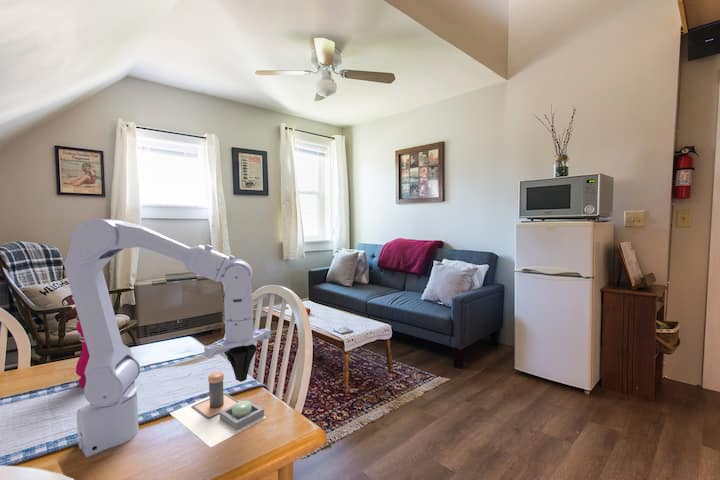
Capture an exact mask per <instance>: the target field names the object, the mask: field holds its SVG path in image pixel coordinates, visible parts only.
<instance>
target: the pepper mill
mask: <svg viewBox="0 0 720 480" xmlns="http://www.w3.org/2000/svg"><path fill="white" fill-rule="evenodd" d="M76 332H77V333H78V334H79V341H80V342H81V353H80V356H79V358H78V360H77V363H76V366H75V373H76V375H77V376H78V377H80V378H79V379H78V387H80V388H81V389H84V388H85V384H86V376H85V369H86V366H87V363H88V360H89V357H90V355H89V352H88V348H87V345H86V341H85V338H84V334H83V331H82V327H81V324H80V320H79V319H78V322H77V323H76Z"/></svg>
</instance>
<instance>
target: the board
mask: <svg viewBox="0 0 720 480" xmlns="http://www.w3.org/2000/svg"><path fill="white" fill-rule="evenodd" d="M223 393H224V405H223V406H222V407H220V408H216V409H213V408H210V399H209V396H207V397H204V398H203V399H200V400H197V401H196V402H193V403H191V404H188V405H186V406H183V407H181V408H178V409H176V410H173V411H171V412H169V413H168V414H169V415H171V416H172V417H173V418H174V419H175V420H177V421H178V422H179V423H180V424H181V425H183V427H185V429H187V430H188V431H190V432H191V433H192V434H193V435H195V437H197V438H198V439H199V440H200V441H201V442H203V443H204V444H205V445H207V446H208V447H209V448H213V447H215V446H216V445H219V444H220V443H223V442H224V441H226V440H228V439H229V438H232V437H234V436H235V435H238V434H239V433H241V432H243V431H244V430H246V429H248V428H250V427H252V426H253V425H256V424H257V423H259V422H261V421H262V420H265V419H267V417H266V416H265V409H264V408H263V407H261V406H259V405H258V404H256V403H254V402H252V401H251V400H249V399H244V400H243V401H248V402H251V404H252V413H251V414H249V415H247V416H245V417H243V418H240V419H237V418H234V417H233V416H232V406H233V405H234V404H236V403H238V402H241V401H240V400H238V399H237V398H234V397H233V396H231V395H229V394H228V393H226V392H225V391H223Z"/></svg>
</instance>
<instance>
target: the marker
mask: <svg viewBox="0 0 720 480" xmlns="http://www.w3.org/2000/svg"><path fill="white" fill-rule="evenodd" d="M224 378H225V377H224V373H223V372H219V371H218V372H213V373H211V374H209V375H208V378H207V379H208V392H209V393H208V395H209V396H208V397H209V399H210V408H213V409H216V408H220V407H222V406H223V405H224V393H225V392H224ZM223 392H224V393H223Z"/></svg>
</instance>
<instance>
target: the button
mask: <svg viewBox="0 0 720 480" xmlns="http://www.w3.org/2000/svg"><path fill="white" fill-rule="evenodd" d="M251 402H252V401H251ZM251 402H248V401H244V400H242V401H240V402H238V403H236V404H234V405H233V406H232V416H233V417H234V418H237V419H240V418H243V417H245V416H247V415H249V414H251V413H252V404H251Z"/></svg>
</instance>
